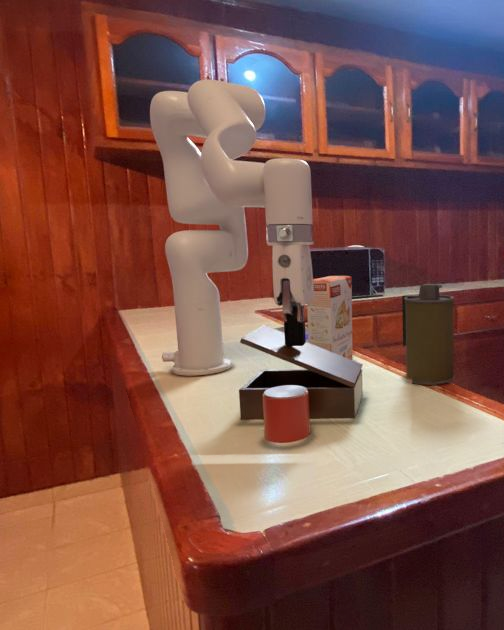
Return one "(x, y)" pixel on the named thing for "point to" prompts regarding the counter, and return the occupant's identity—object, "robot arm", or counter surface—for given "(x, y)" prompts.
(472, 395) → the counter surface
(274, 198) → the robot arm
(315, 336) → the cracker box
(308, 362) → the lid
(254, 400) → the chest
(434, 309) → the canister
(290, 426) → the tin can
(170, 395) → the counter surface
